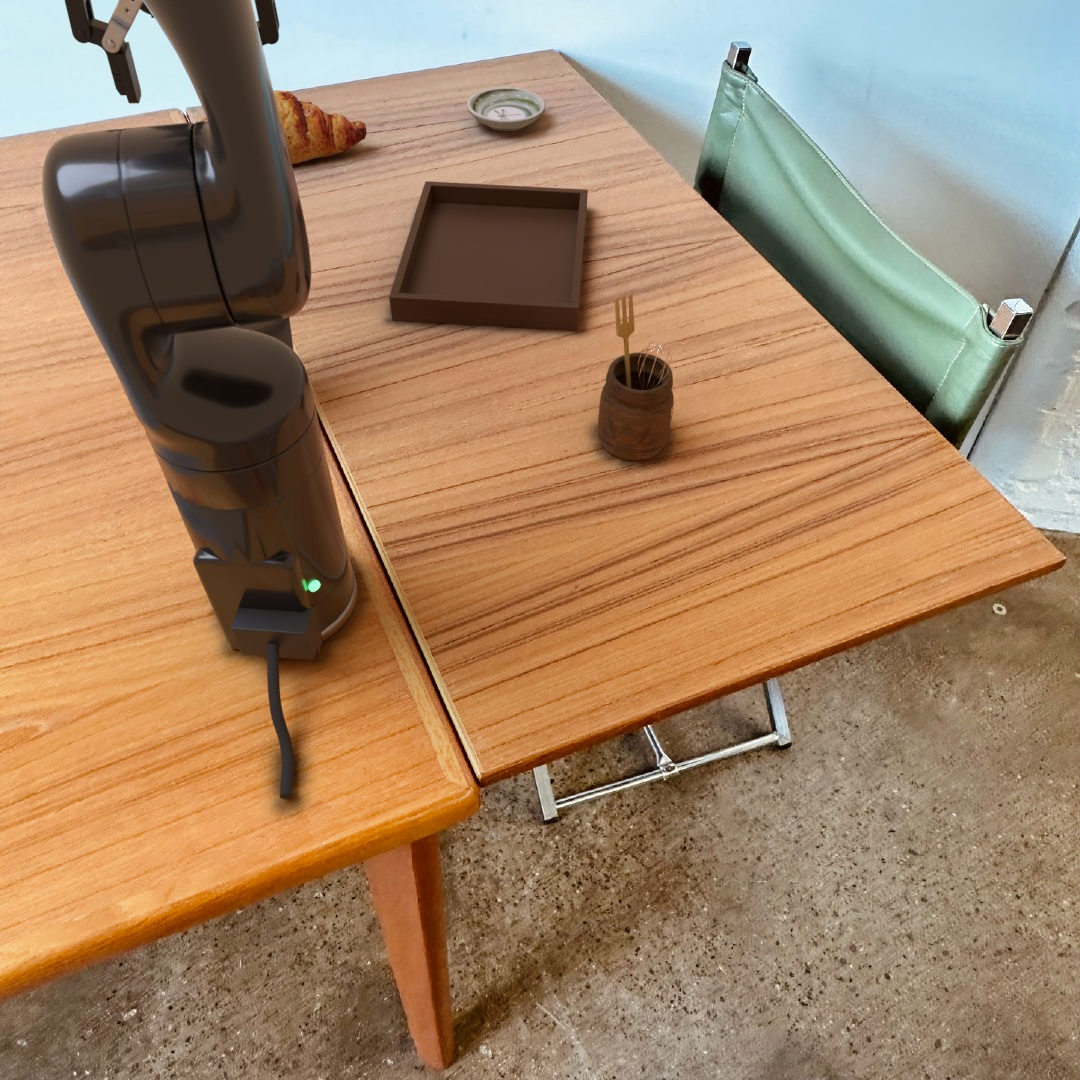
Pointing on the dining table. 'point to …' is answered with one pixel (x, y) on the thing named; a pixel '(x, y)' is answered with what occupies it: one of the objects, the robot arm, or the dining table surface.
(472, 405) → the dining table surface
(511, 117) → the saucer
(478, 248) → the tray
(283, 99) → the croissant
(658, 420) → the utensil holder
